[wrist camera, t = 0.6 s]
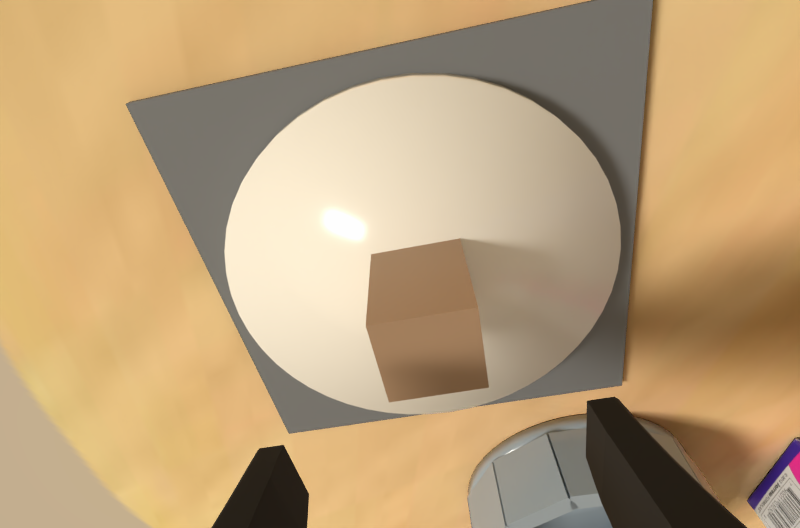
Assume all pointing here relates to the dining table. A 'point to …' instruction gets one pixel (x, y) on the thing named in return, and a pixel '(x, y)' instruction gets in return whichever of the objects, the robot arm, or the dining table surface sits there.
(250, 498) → the robot arm
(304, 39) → the dining table surface
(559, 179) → the lid
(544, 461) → the bowl
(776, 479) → the supplement box
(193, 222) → the mat
